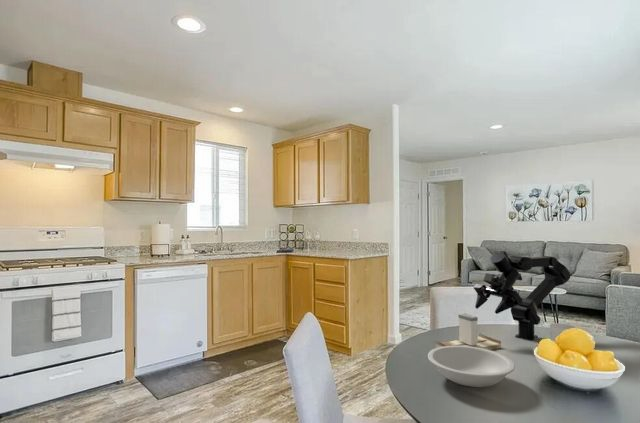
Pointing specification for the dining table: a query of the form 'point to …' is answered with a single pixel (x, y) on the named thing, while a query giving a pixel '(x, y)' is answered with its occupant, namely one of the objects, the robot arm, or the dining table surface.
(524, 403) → the dining table surface
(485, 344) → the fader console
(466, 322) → the cream rectangular box
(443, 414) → the dining table surface
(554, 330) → the white cup
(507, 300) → the robot arm
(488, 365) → the soup bowl
